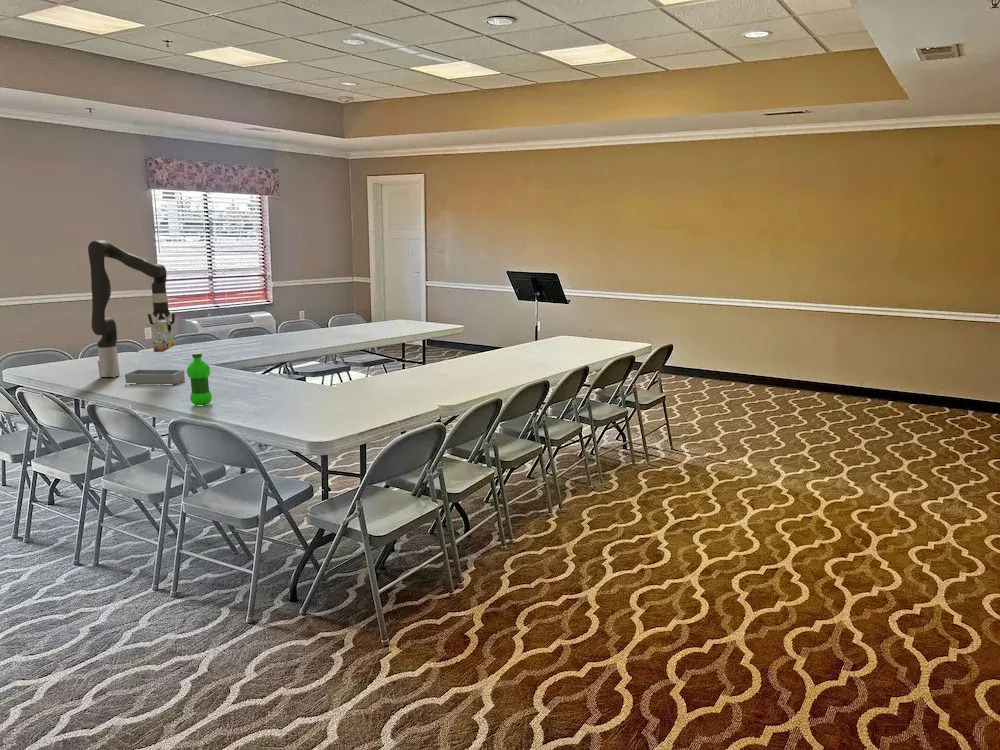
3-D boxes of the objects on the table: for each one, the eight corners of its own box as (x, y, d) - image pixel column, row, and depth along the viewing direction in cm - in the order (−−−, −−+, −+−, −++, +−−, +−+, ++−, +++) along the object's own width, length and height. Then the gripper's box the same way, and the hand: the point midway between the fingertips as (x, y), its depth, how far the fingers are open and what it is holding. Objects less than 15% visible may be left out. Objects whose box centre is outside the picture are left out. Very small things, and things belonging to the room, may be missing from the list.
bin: (126, 384, 394) (124, 374, 393) (138, 379, 405) (137, 369, 404) (174, 385, 392) (173, 374, 391) (185, 380, 403) (183, 370, 402)
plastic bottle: (194, 402, 356) (189, 351, 350) (216, 402, 356) (211, 351, 351) (186, 408, 346) (181, 355, 341) (209, 407, 347) (205, 355, 341)
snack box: (164, 352, 400) (161, 324, 397) (153, 352, 399) (150, 324, 396) (175, 345, 421) (173, 319, 417) (165, 345, 420) (162, 319, 417)
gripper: (144, 302, 399) (147, 333, 403) (173, 301, 403) (176, 332, 406) (147, 300, 406) (150, 331, 410) (175, 300, 410) (178, 330, 413)
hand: (163, 331), depth 408 cm, fingers closed on snack box, 6 cm apart
